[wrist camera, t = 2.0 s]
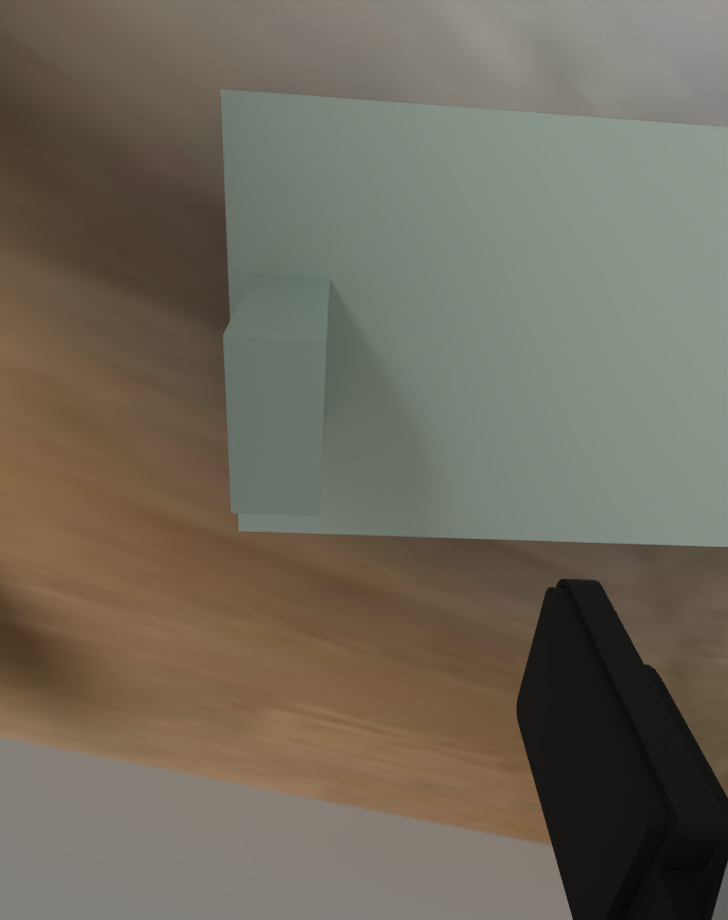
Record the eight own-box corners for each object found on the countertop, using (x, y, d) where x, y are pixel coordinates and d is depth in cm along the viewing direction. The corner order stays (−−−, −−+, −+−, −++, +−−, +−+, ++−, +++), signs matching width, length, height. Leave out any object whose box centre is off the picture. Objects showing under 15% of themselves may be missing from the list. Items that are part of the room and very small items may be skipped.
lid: (229, 89, 19) (168, 81, 12) (924, 142, 20) (1214, 161, 13) (243, 508, 26) (211, 645, 19) (751, 526, 27) (882, 659, 21)
